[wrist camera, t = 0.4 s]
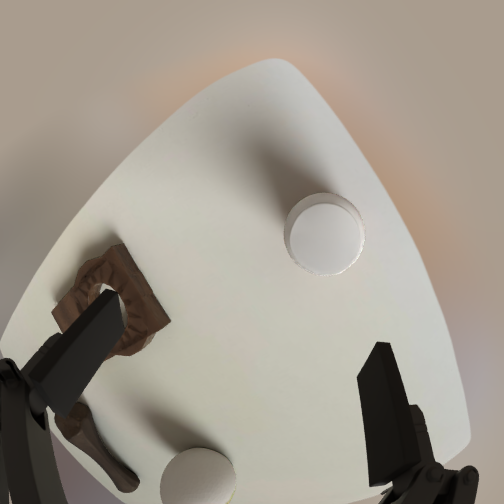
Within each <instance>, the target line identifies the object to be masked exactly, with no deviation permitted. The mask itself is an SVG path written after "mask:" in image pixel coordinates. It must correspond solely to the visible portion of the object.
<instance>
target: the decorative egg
mask: <svg viewBox="0 0 504 504" xmlns="http://www.w3.org/2000/svg"><path fill="white" fill-rule="evenodd" d="M235 489H236V473H235V470H234V468H233V466H232V464H231V462H230V461H229V460H228V459H227V458H226V457H225V456H223V455H221V454H220V453H218V452H216V451H213V450H210V449H207V448H192V449H188V450H185V451H183V452H181V453H179V454H178V455H176V456H175V457H174V458H173V459H172V460H171V461H170V462H169V463H168V465H167V466H166V468H165V470H164V472H163V475H162V478H161V483H160V495H161V500H162V503H163V504H228V503H229V502H230V500H231V499H232V497H233V495H234V492H235Z"/></svg>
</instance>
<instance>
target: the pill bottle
mask: <svg viewBox="0 0 504 504" xmlns="http://www.w3.org/2000/svg"><path fill="white" fill-rule="evenodd" d="M284 241H285V246H286V248H287V251H288V253H289V255H290V256H291V258H292V259H293V260H294V262H295V263H296V264H297V265H298V266H300V267H301V268H302V269H304V270H306V271H308V272H310V273H312V274H315V275H319V276H332V275H336V274H339V273H341V272H343V271H345V270H346V269H347V268H349V267H350V266H351V265H352V264H353V263H354V262H355V261H356V260H357V258H358V257H359V255H360V254H361V252H362V249H363V246H364V242H365V226H364V222H363V219H362V217H361V215H360V213H359V212H358V210H357V209H356V207H355V206H354V205H353V204H352V203H351V202H349V201H348V200H347V199H345V198H343V197H341V196H339V195H337V194H332V193H316V194H312V195H309V196H307V197H305V198H303V199H302V200H300V201H299V202H298V203H297V204H296V205H295V206H294V207H293V208H292V210H291V211H290V213H289V215H288V217H287V219H286V222H285V226H284Z"/></svg>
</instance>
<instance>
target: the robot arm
mask: <svg viewBox="0 0 504 504" xmlns="http://www.w3.org/2000/svg"><path fill="white" fill-rule="evenodd" d="M124 332H125V329H124V325H123V320H122V314H121V309H120V303H119V297H118V292H116V291H112V290H109V289H105V290H104V291H103V292H102V293H101V294H100V295H99V296H98V297H97V298H96V299H95V300H94V301H93V302H92V303H91V304H90V305H89V306H88V307H87V309H86V310H85V311H84V312H83V313H82V314H81V315H80V316H79V317H78V318H77V319H76V320H75V321H74V322H73V323H72V324H71V326H70V327H69V328H68V329H67V330H66V331H65V332H64V333H63V334H61V333H59V332H58V333H56V334H54V335H53V336H51V337H49V338H48V340H47V341H46V342H45V343H44V344H43V346H41V347H40V348H39V350H38V351H37V352H36V353H35V354H34V355H33V356H32V358H31V359H30V360H29V361H28V362H27V363H26V365H25V366H24V367H23V368H22V369H21V370H19V369H18V367H17V365H16V364H15V362H14V361H13V360H12V359H10V358H4V359H1V360H0V504H9V492H10V496H11V500H12V504H68V503H67V500H66V497H65V494H64V490H63V487H62V484H61V480H60V477H59V473H58V469H57V465H56V460H55V456H54V451H53V446H52V441H51V435H50V429H49V422H48V414H47V411H46V408H47V406H49V407H50V408H51V410H52V411H53V412H54V413H56V414H57V415H59V416H60V417H62V418H64V419H66V417H67V415H68V414H69V412H70V411H71V409H72V408H73V406H74V404H75V403H76V401H77V400H78V398H79V397H80V395H81V394H82V392H83V391H84V389H85V388H86V386H87V385H88V383H89V382H90V380H91V379H92V377H93V376H94V374H95V373H96V371H97V370H98V369H99V367H100V366H101V364H102V363H103V361H104V360H105V358H106V357H107V356H108V354H109V353H110V351H111V350H112V349H113V347H114V346H115V344H116V343H117V342H118V340H119V339H120V337H121V336H122V335H123V333H124ZM357 382H358V388H359V395H360V401H361V408H362V416H363V423H364V432H365V440H366V450H367V461H368V474H369V487H374V486H382V485H386V484H388V483H389V482H391V481H392V484H393V486H391V487H390V488H388V489H386V490H384V491H383V492H382V493H381V495H383V494H385V493H386V494H385V496H384V497H383V498H382V500H381V501H380V502H379V504H474V503H475V498H476V493H477V487H478V482H479V474H478V471H477V469H476V468H475V467H473V466H466V467H464V468H462V469H461V470H459V471H458V470H448V469H444V467H443V466H442V465H441V464H440V463H438V462H436V461H435V459H434V455H433V451H432V447H431V442H430V438H429V434H428V432H427V426H426V424H425V423H426V422H425V419H424V415H423V412H422V411H421V410H420V408H419V407H418V405H409V403H408V399H407V396H406V392H405V389H404V385H403V382H402V379H401V375H400V372H399V369H398V366H397V363H396V360H395V357H394V354H393V351H392V348H391V345H390V343H386V342H376V344H375V346H374V348H373V350H372V351H371V353H370V355H369V357H368V359H367V360H366V362H365V364H364V366H363V367H362V369H361V371H360V373H359V374H358V376H357Z"/></svg>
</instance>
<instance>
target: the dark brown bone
mask: <svg viewBox="0 0 504 504" xmlns="http://www.w3.org/2000/svg"><path fill="white" fill-rule="evenodd" d="M54 419H55V423H56V425H57V427H58V429H59V430H60V431H61V433H62V435H63V436H64V438H65V439H66V440H68V441H69V442H70V443H72V444H73V445H75V446H76V447H78V448H79V449H80V450H82V451H83V452H85V453H86V454H87V455H89V456H90V457H91V458H92V459H93V460H95V461H96V462H97V463H98V464H99V465H100V466H101V467H102V468H103V470H104V471H105V472H106V473H107V474H108V476H109V477H110V478H111V480H112V481H113V483H114V484H115V486H116V487H117V489H118V490H119V491H121V492H123V493H130V492H133V491H134V490H136V489H137V488H138V485H139V484H140V480H139V478H138V477H137V476H136V475H135V474H134V473H132V472H130V471H129V470H128V469H126V468H125V467H123V466H122V465H121V464H120V463H119V462H118V461H117V460H116V459H115V458H114V457H113V456H112V455H111V454H110V453H109V451H108V450H107V449H106V447H105V446H104V444H103V442H102V441H101V439H100V437H99V435H98V432H97V430H96V427H95V425H94V422H93V418H92V414H91V411H90V409H89V408H88V407H87V406H85V405H83V404H81V403H77V402H76V403H75V404H74V406H73V408H72V409H71V411H70V412H69V414H68V415H67V417H66V419H64V418H62V417H60V416H59V415H57V414H56V413H55V417H54Z"/></svg>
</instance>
